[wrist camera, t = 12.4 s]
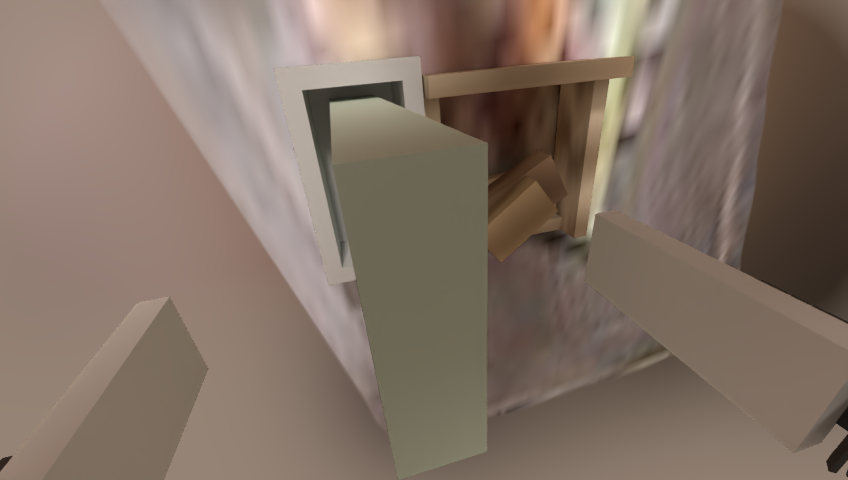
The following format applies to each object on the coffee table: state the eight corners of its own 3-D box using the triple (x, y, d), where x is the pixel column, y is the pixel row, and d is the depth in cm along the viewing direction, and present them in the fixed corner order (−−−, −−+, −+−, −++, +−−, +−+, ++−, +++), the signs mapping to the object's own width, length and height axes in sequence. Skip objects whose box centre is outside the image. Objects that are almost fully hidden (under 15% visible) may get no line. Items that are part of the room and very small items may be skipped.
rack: (406, 76, 25) (427, 76, 19) (576, 59, 27) (635, 55, 22) (422, 245, 31) (442, 279, 26) (559, 219, 34) (601, 245, 28)
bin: (284, 70, 23) (273, 68, 18) (403, 59, 24) (420, 55, 20) (328, 254, 29) (328, 285, 25) (420, 236, 31) (436, 263, 26)
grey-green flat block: (354, 228, 28) (397, 480, 11) (329, 99, 24) (332, 165, 6) (390, 222, 29) (487, 451, 11) (372, 94, 24) (488, 142, 7)
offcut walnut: (447, 215, 28) (454, 224, 26) (536, 150, 28) (551, 155, 26) (469, 247, 30) (478, 258, 28) (553, 187, 29) (568, 194, 28)
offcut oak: (468, 229, 27) (475, 237, 26) (525, 175, 26) (535, 180, 25) (493, 254, 28) (500, 263, 27) (547, 204, 28) (558, 210, 26)
